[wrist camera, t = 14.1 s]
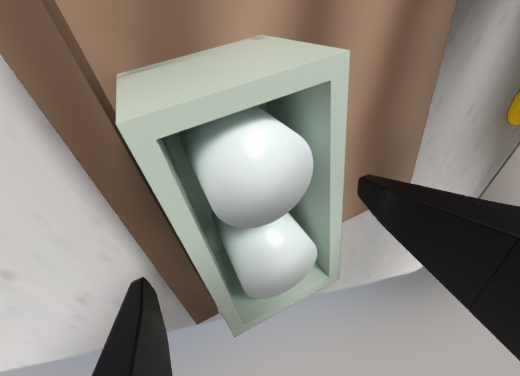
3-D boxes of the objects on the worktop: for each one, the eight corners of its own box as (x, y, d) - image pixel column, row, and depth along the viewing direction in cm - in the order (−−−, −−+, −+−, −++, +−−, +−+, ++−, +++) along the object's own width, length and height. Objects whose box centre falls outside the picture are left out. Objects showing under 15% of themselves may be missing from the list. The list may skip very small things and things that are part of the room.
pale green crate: (262, 34, 11) (349, 50, 7) (287, 216, 18) (338, 278, 14) (116, 74, 9) (115, 123, 5) (205, 254, 16) (234, 337, 12)
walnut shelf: (460, -112, 12) (543, -141, 10) (397, 182, 23) (429, 202, 21) (-19, -38, 8) (-81, -59, 5) (186, 284, 19) (196, 324, 16)
